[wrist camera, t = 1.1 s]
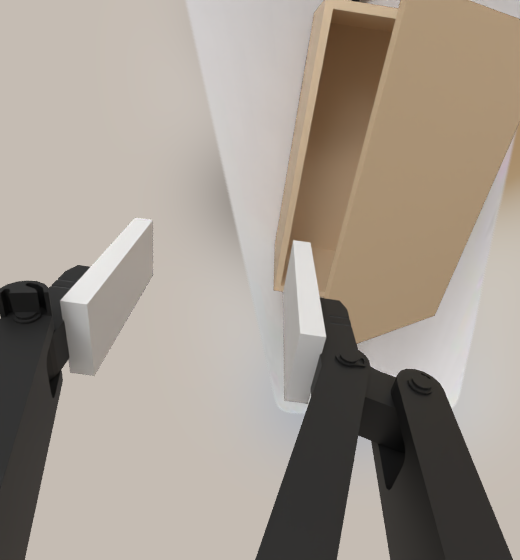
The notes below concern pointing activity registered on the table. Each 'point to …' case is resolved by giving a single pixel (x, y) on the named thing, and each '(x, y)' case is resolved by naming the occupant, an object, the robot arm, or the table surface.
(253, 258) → the table surface
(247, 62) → the table surface
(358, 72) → the carton
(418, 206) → the carton lid
